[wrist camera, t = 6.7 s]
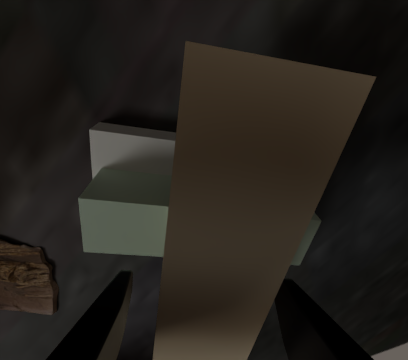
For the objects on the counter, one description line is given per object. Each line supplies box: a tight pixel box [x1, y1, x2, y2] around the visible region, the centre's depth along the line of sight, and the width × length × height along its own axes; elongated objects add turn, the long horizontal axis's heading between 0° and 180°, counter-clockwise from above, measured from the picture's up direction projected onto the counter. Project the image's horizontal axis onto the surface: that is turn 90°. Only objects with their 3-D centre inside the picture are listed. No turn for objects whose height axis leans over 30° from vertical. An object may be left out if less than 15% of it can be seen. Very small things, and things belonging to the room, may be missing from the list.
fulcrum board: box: [78, 122, 321, 265], centre depth 13 cm, size 7×12×4 cm, turn 81°
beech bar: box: [153, 41, 376, 360], centre depth 9 cm, size 15×4×4 cm, turn 171°
